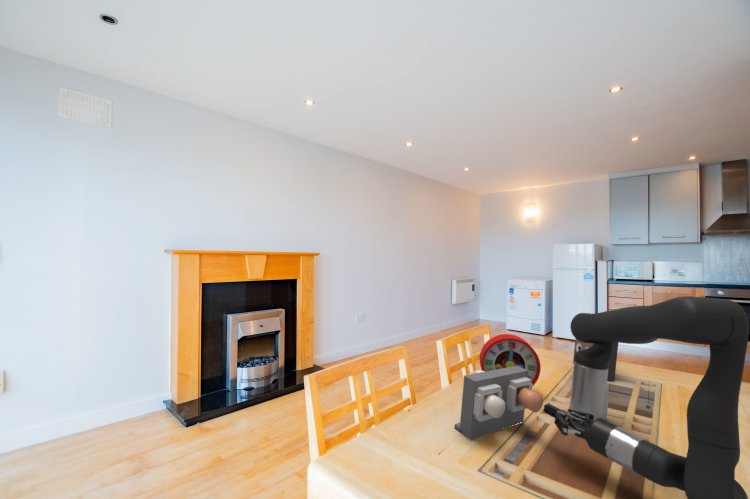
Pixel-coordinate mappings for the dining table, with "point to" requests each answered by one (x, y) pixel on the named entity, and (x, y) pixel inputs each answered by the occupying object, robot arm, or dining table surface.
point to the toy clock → (510, 355)
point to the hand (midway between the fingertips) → (545, 407)
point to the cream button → (493, 405)
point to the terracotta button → (530, 399)
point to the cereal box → (612, 364)
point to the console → (501, 385)
